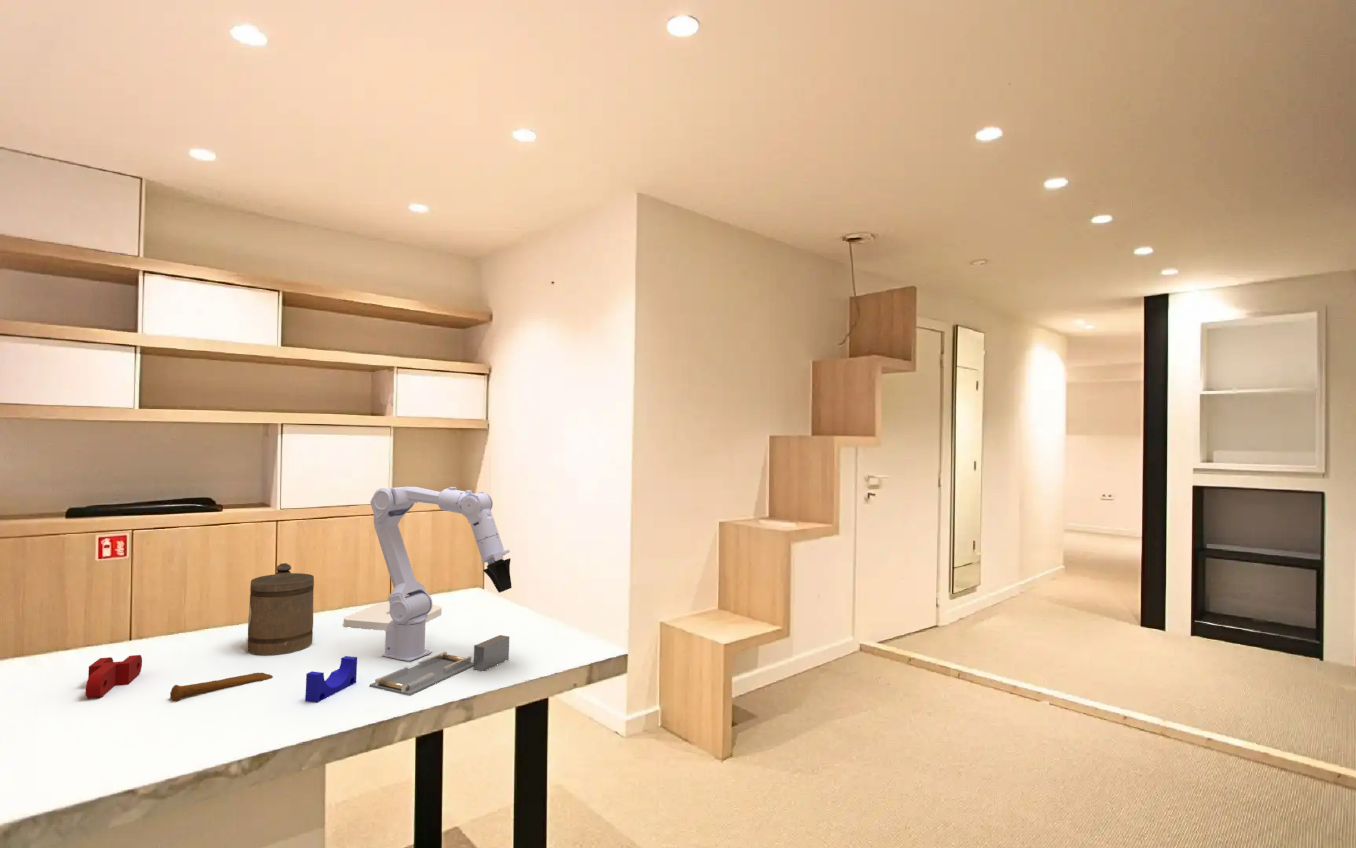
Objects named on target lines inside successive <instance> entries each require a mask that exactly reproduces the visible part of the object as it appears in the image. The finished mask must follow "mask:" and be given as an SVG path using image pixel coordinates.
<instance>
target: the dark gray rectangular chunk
mask: <svg viewBox="0 0 1356 848" xmlns="http://www.w3.org/2000/svg"><path fill="white" fill-rule="evenodd" d="M509 659H510V636H508V635H500V634H499V635H496V636H493V637H492V638H490V639H489V638H488V639H487V640H484V641H483V642H479V643H477V644H475V645H473V663H474V666H473V667H472V668H473V671H476V670H477V671H478V672H482V671H484V672H486V671H488V670H490V669H492V668H494V667H497V666H498V665H500V663H501V664H502V662H503V663H505V662H506V661H505V660H507V661H509ZM504 661H505V662H504ZM497 664H498V665H497ZM489 668H490V669H489ZM487 669H488V670H487Z"/></svg>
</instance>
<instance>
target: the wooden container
mask: <svg viewBox="0 0 1356 848" xmlns="http://www.w3.org/2000/svg"><path fill="white" fill-rule="evenodd" d="M275 568H276V571H277V572H276V573H275V574H269V575H267V574H266V575H263V576H258V577H255V578H253V579H251V580H250V587H249V589H250V590H249V591H250V595H249V607H248V622H247V623H248V624H247V652H248V653H249V654H252V655H256V656H275V655H277V656H278V655H284V654H291V653H295V652H298V651H301V650H304V649H307V648H308V647H310V646H311V645H312V644H313V639H314V638H313V636H314V635H313V634H314V632H313V630H314V586H315V579H314V578H315V577H314V575H313V574H308V573H302V572H301V573H299V572H298V573H296V572H291V571H290V570H292V566H291V565H290V564H289V563H280V564H279V565H277V566H276V567H275Z"/></svg>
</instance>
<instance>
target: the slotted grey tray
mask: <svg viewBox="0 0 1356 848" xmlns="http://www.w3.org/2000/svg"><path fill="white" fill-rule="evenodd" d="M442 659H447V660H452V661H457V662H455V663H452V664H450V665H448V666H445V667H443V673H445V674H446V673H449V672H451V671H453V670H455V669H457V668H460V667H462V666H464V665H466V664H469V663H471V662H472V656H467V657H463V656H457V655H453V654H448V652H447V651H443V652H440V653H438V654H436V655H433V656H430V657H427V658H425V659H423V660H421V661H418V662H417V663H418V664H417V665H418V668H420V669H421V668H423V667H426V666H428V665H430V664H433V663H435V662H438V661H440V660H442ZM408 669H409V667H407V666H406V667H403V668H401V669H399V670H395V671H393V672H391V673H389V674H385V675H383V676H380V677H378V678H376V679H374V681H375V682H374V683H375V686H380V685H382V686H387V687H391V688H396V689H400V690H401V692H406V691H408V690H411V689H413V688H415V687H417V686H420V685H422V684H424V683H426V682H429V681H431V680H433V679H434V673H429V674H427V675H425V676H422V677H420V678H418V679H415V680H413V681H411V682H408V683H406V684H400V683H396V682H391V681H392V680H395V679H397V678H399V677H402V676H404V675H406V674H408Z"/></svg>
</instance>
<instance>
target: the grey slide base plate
mask: <svg viewBox="0 0 1356 848" xmlns="http://www.w3.org/2000/svg"><path fill="white" fill-rule="evenodd" d="M455 662H457V661H452V660H447V659H442V660H440V661H438V662H435V663H433V664H430V665H428V666H426V667H423V668H421V669H420V668H418V664H416V665H414V666H411V667H408V674H406V675H404V676H402V677H399V678H397V679H395V680H392V681H391V682H396V683H400V684H406V683H408V682H411V681H413V680H415V679H418V678H420V677H422V676H425V675H427V674H429V673H434V679H433V680H431V681H429V682H426V683H424V684H422V685H420V686H417V687H415V688H413V689H411V690H408V691H406V692H401V690H400V689H396V688H391V687H387V686H382V685H380V686H375V682H373V683H371V684H370V683H369V687H371V688H374V689H379V690H383V689H384V690H383V691H389V692H394V693H396V694H401V693H402V695H405V696H412V695H415V694H417V693H419V692H421V691H423V690H425V689H428V688H429V686H430V687H432V686H434V685H436V684H438V683H440V681H441V682H442V680H443V681H445V680H447V679H449V678H451V676H452V677H454V676H456V675H458V674H460V673H462V672H464V671H467V670H469V669H472V668H473V666H474V662H472V661H471V663H469V664H466V665H464V666H462V667H460V668H457V669H455V670H453V671H451V672H449V673H446V674H445V673H443V667H445V666H448V665H450V664H452V663H455ZM468 668H469V669H468ZM453 675H454V676H453ZM446 678H447V679H446ZM444 679H445V680H444ZM437 682H438V683H437ZM435 683H436V684H435ZM427 687H428V688H427ZM422 689H423V690H422ZM414 693H415V694H414Z"/></svg>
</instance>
